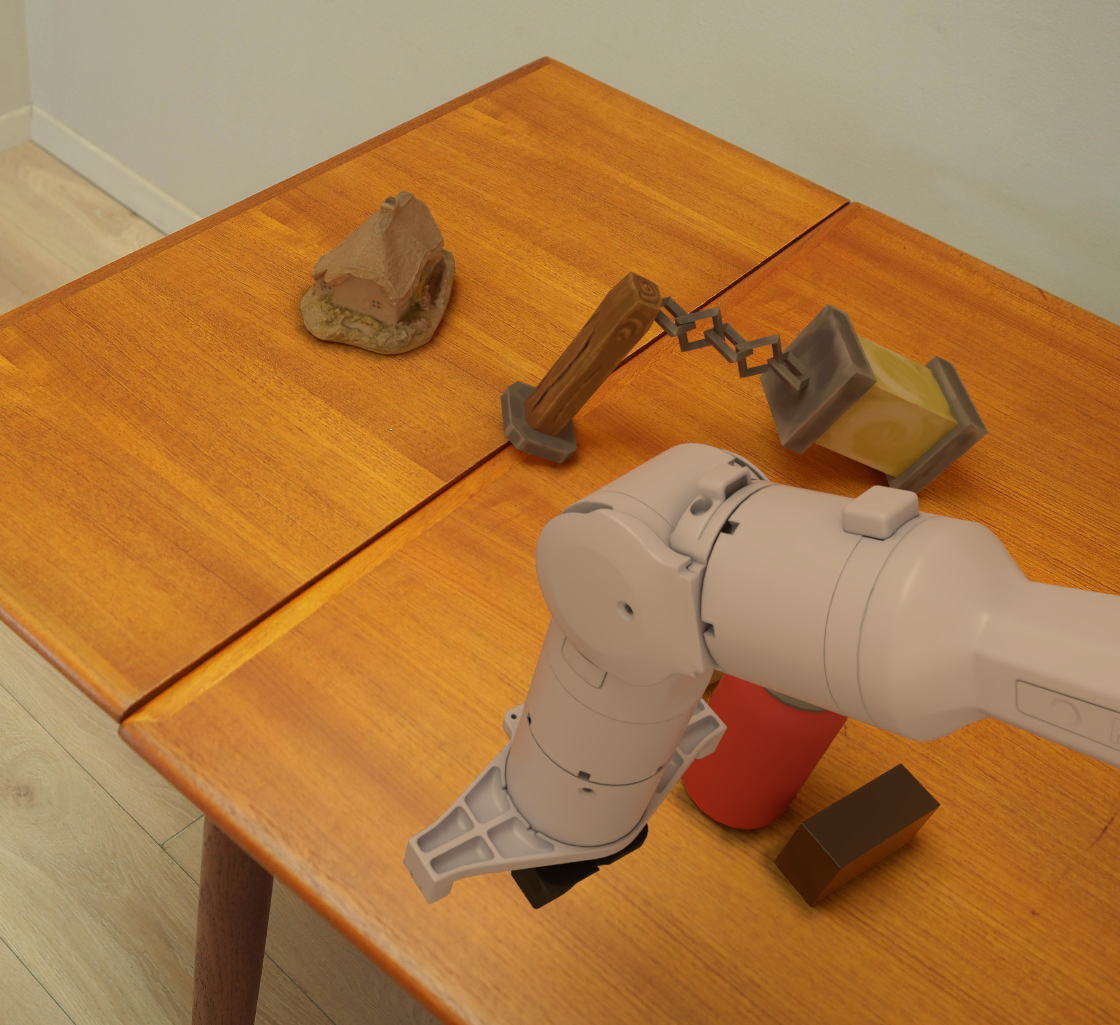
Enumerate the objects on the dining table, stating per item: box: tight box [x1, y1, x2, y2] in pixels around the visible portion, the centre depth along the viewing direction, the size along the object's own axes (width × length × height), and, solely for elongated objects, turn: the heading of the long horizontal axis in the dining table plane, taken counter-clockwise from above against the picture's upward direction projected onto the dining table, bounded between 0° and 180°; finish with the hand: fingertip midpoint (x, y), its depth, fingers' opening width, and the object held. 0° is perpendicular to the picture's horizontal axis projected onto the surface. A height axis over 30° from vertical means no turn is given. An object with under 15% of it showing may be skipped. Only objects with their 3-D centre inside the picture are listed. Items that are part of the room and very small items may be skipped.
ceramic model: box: [299, 190, 456, 355], centre depth 93 cm, size 14×11×10 cm
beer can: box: [681, 673, 849, 831], centre depth 64 cm, size 7×7×12 cm
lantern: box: [500, 271, 989, 495], centre depth 86 cm, size 8×17×30 cm
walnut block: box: [774, 762, 941, 907], centre depth 65 cm, size 3×8×4 cm, turn 122°
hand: (534, 884), depth 53 cm, fingers closed
